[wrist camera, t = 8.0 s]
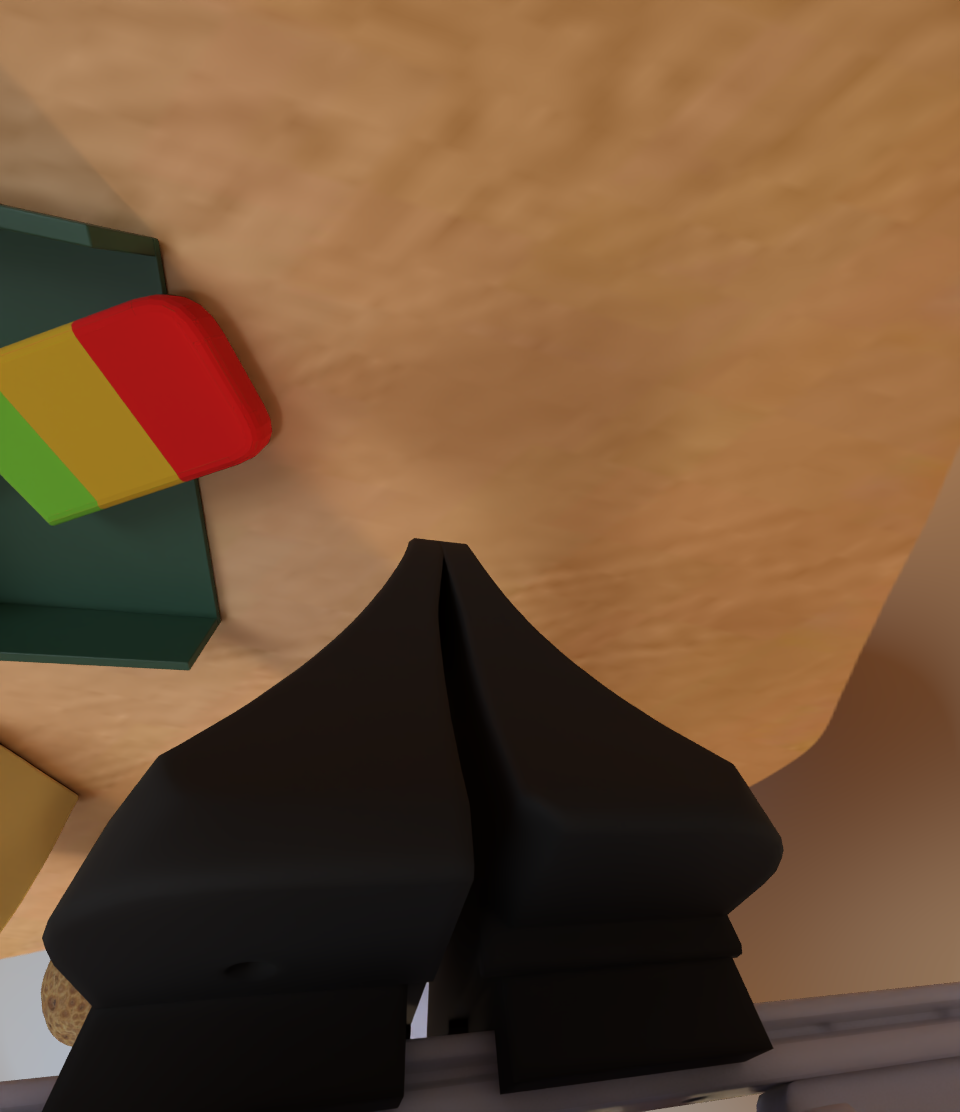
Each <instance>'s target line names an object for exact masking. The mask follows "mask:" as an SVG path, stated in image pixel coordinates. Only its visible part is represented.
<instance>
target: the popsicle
mask: <svg viewBox="0 0 960 1112" xmlns="http://www.w3.org/2000/svg"><path fill="white" fill-rule="evenodd" d="M271 433H272V428H271V420H270V417H269V415H268V413H267V411H266V408H265V406H264V404H263V402H262V401H261V399H260V397H259V395H258V393H257V392H256V390H255V388H254V386H253V384H252V383H251V381H250V379H249V377H248V375H247V374H246V372H245V370H244V368H243V367H242V365H241V363H240V361H239V359H238V358H237V356H236V354H235V352H234V350H233V349H232V347H231V345H230V343H229V342H228V340H227V338H226V336H225V334H224V333H223V331H222V330H221V328H220V327H219V325H218V324H217V322H216V321H215V320H214V318H213V317H212V316H211V315H210V314H209V313H208V312H207V311H206V310H205V309H204V308H203V307H202V306H201V305H200V304H198V303H196V302H194V301H192V300H190V299H188V298H186V297H181V296H173V295H159V294H156V295H151V296H146V297H141V298H137V299H133V300H130V301H127V302H125V303H122V304H119V305H116V306H114V307H111V308H108V309H106V310H103V311H100V312H97V313H95V314H92V315H89V316H87V317H84V318H81V319H78V320H76V321H73V322H70V323H68V324H65V325H62V326H59V327H57V328H54V329H51V330H49V331H46V332H43V333H40V334H38V335H35V336H32V337H30V338H27V339H24V340H21V341H19V342H16V343H13V344H11V345H8V346H5V347H2V348H0V474H1V476H2V477H3V478H4V479H5V480H6V481H7V482H8V483H9V484H10V485H11V486H12V487H13V488H14V489H15V490H16V491H17V492H18V493H19V494H20V495H21V496H22V497H23V498H24V499H25V500H26V501H27V502H28V503H29V504H30V505H31V506H32V507H33V508H34V509H35V510H36V511H37V512H38V513H39V514H40V515H41V516H42V517H43V518H44V519H45V520H46V521H47V522H48V523H49V524H50V525H51V526H55V525H58V524H61V523H64V522H67V521H70V520H73V519H76V518H79V517H82V516H85V515H88V514H91V513H94V512H97V511H100V510H103V509H106V508H109V507H112V506H115V505H118V504H121V503H124V502H127V501H130V500H133V499H136V498H139V497H142V496H145V495H148V494H151V493H154V492H157V491H160V490H163V489H166V488H169V487H172V486H175V485H178V484H181V483H184V482H187V481H190V480H193V479H196V478H199V477H202V476H205V475H208V474H211V473H214V472H217V471H220V470H223V469H226V468H229V467H232V466H235V465H238V464H240V463H242V462H244V461H247V460H249V459H251V458H253V457H254V456H256V455H257V454H258V453H259V452H260V451H261V450H262V449H263V448H264V447H265V446H266V445H267V444H268V442H269V440H270V437H271Z"/></svg>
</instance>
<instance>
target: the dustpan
mask: <svg viewBox="0 0 960 1112" xmlns="http://www.w3.org/2000/svg"><path fill="white" fill-rule="evenodd" d="M156 294H159V295H167V291H166V285H165V278H164V272H163V266H162V260H161V254H160V248H159V242H158V239H156V238H152V237H147V236H143V235H138V234H134V233H129V232H125V231H120V230H115V229H111V228H106V227H102V226H97V225H93V224H88V223H84V222H79V221H75V220H70V219H66V218H61V217H57V216H52V215H48V214H43V213H38V212H34V211H29V210H25V209H20V208H16V207H11V206H7V205H2V204H0V348H2V347H5V346H8V345H11V344H13V343H16V342H19V341H21V340H24V339H27V338H30V337H32V336H35V335H38V334H40V333H43V332H46V331H49V330H51V329H54V328H57V327H59V326H62V325H65V324H68V323H70V322H73V321H76V320H78V319H81V318H84V317H87V316H89V315H92V314H95V313H97V312H100V311H103V310H106V309H108V308H111V307H114V306H116V305H119V304H122V303H125V302H127V301H130V300H133V299H137V298H141V297H146V296H151V295H156ZM220 622H221V620H220V614H219V608H218V602H217V596H216V590H215V584H214V578H213V571H212V565H211V559H210V553H209V547H208V541H207V535H206V529H205V523H204V516H203V510H202V504H201V498H200V492H199V486H198V480H197V478H196V479H193V480H190V481H187V482H184V483H181V484H178V485H175V486H172V487H169V488H166V489H163V490H160V491H157V492H154V493H151V494H148V495H145V496H142V497H139V498H136V499H133V500H130V501H127V502H124V503H121V504H118V505H115V506H112V507H109V508H106V509H103V510H100V511H97V512H94V513H91V514H88V515H85V516H82V517H79V518H76V519H73V520H70V521H67V522H64V523H61V524H58V525H55V526H51V525H50V524H49V523H48V522H47V521H46V520H45V519H44V518H43V517H42V516H41V515H40V514H39V513H38V512H37V511H36V510H35V509H34V508H33V507H32V506H31V505H30V504H29V503H28V502H27V501H26V500H25V499H24V498H23V497H22V496H21V495H20V494H19V493H18V492H17V491H16V490H15V489H14V488H13V487H12V486H11V485H10V484H9V483H8V482H7V481H6V480H5V479H4V478H3V477H2V476H1V474H0V661H19V662H38V663H58V664H77V665H96V666H115V667H135V668H154V669H173V670H190V669H191V667H192V666H193V664H194V663H195V661H196V659H197V658H198V656H199V655H200V653H201V652H202V650H203V649H204V647H205V645H206V644H207V642H208V641H209V639H210V638H211V636H212V635H213V633H214V631H215V630H216V628H217V627H218V625H219V624H220Z"/></svg>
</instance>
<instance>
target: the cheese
mask: <svg viewBox="0 0 960 1112" xmlns="http://www.w3.org/2000/svg"><path fill="white" fill-rule="evenodd" d="M77 800H78V795H77V794H75V793H74V792H72V791H71V790H69V789H68V788H66V787H65V786H63V785H62V784H60V783H58V782H57V781H55V780H54V779H52V778H51V777H49V776H48V775H46V774H45V773H43V772H41V771H40V770H38V769H37V768H35V767H34V766H32V765H31V764H30V763H28V762H27V761H25V760H24V759H22V758H21V757H19V756H18V755H16V754H14V753H13V752H11V751H10V750H8V749H7V748H5V747H3V746H2V745H0V933H1V931H2V930H3V928H4V927H5V926H6V924H7V923H8V921H9V920H10V918H11V917H12V916H13V914H14V913H15V911H16V910H17V908H18V907H19V905H20V904H21V902H22V901H23V899H24V897H25V896H26V894H27V892H28V891H29V889H30V887H31V885H32V884H33V882H34V880H35V879H36V877H37V875H38V874H39V872H40V870H41V868H42V867H43V865H44V863H45V861H46V860H47V858H48V856H49V854H50V852H51V851H52V849H53V847H54V845H55V843H56V841H57V839H58V837H59V835H60V833H61V831H62V829H63V827H64V825H65V823H66V821H67V819H68V817H69V815H70V813H71V811H72V809H73V807H74V806H75V804H76V802H77Z"/></svg>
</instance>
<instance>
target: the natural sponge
mask: <svg viewBox="0 0 960 1112" xmlns="http://www.w3.org/2000/svg"><path fill="white" fill-rule="evenodd" d="M41 999H42V1010H43V1014H44V1017H45V1020H46V1024H47V1026H48V1029H49V1030H50V1032H51V1033H52V1035H53V1036H54V1037H55V1038H56V1039H57V1040H58V1041H60V1042H62V1043H64V1044H66V1045H68V1046H72V1047H73V1045H74V1042H75V1040H76V1038H77V1036H78V1034H79V1032H80V1030H81V1028H82V1026H83V1024H84V1021H85V1019H86V1017H87V1015H88V1013H89V1011H90V1009H91V1007H92V1006H91V1005H90V1004H89V1003H88V1001H87V1000H86V999H85V998H84V997H83V996H82V995H81V994H80V993H79V992H78V991H77V990H76V989H75V988H74V987H73V985H72V984H71V983H70V982H69V981H68V980H67V979H66V978H65V977H64V976H63V975H62V974H61V973H60V972H59V971H58V969H57V968H56V967H55V966H54V965H53V963H52V961H51V960H50V963H49V965H48V968H47V970H46V972H45V975H44V979H43V982H42V988H41Z"/></svg>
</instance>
